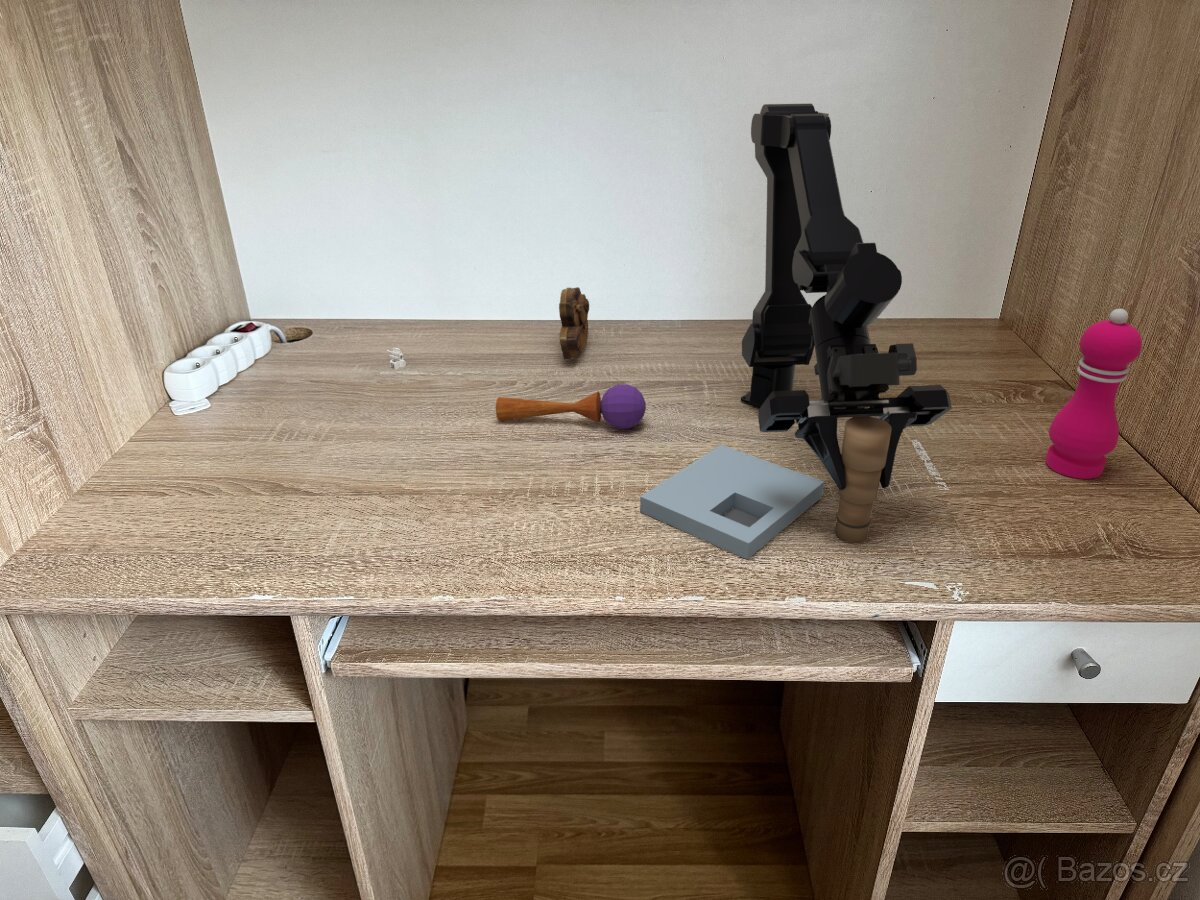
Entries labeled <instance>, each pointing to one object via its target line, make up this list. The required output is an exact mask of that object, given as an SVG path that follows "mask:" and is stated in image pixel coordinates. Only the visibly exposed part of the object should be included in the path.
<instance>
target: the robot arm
mask: <svg viewBox="0 0 1200 900" xmlns="http://www.w3.org/2000/svg"><path fill="white" fill-rule="evenodd" d="M750 124H751V125H750V126H751V127H750V137H751V142H752V143H753V144H754V157H755V160H756V162H757V163H758V165H759V167H760V169H761V170H762V172H763V174H764V176H765V177H766V181H767V182H766V183H767V184H766V225H765V226H766V229H765V235H766V236H765V275H764V277H765V285H764V287H765V289H764V292H763V294H762V295H761V297H760V299H759V300H758V302H757V304H756V305H755V307H754V308H753V310H752V320H751V323H750V324H749V326H748V328H747V330H746V332H745V333H744V335H743V337H742V339H741V356H742V357H743V360H744V362H745V363H746V365H747V367H748V368H752V373H751V379H750V380H751V383H750V391H749V392H748V393H746V394H744V395H742V396H741V397H740V402H742V403H745V404H748V405H752V406H755V407H758V415H757V417H758V426H759V427H758V428H759V432H762V433H781V432H783V433H784V432H788V431H789V430H790V429H791V428H792V427H793V425H794V424H795V423H796V424H797V426H798V428H797V430H796V431H795V432H794V437H795V439H803V440H804V441H805V442H806V444H807V445H808V446H809V448H810V449H811V450H812V452H813V453H815V455H816V456H817V457H818V459H819V460H820V462H821V463H822V465H823V466H824V468H825V470H826V471H827V474H829V476H830V478H831V479H832V481H833V482H834V484H835V485H836V487H837V489H839V490H844V489H845V488H846V481H845V471H844V467H843V462H842V457H841V448H840V445H839V439H838V419H840V418H842V419H843V418H853V417H858V416H868V417H874V418H878V419H881V420H884V421H886V422H887V423H888V424H890V426H891V428H892V430H891V436H890V441H889V447H888V452H887V458H886V464H885V467H884V468H883V469H882V471H881V477H880V483H879V485H880V487H881V489H887V488H889V487H890V482H891V478H892V473H893V468H894V465H895V464H894V462H895V458H896V452H897V448H898V445H899V441H900V439H901V437H902V433H903V431H904V430H905V429H906V428H907V427H924V426H928V425H932V424H933V423H935V422H936V421H937V420H938V419H940V418H941V417H942V416H943V415H945V414H946V413H948V412H949V411H950V410H951V409H952V408H953V407H952V403H951V401H952V400H951V397H950V393H949V392H948V390H946V389H945V387H943V386H942V385H941V384H929V385H927V384H925V385H923V384H922V385H908V386H907V387H906V388H905V389H904V390H903V391H902V392H901V393H899V394H898V395H897V396H894V397H892V396H891V397H880V394H884V393H886V392H887V391H889V389H890V387H889V386H900V381H901V380H900V377H905V376H914V375H916V373H917V371H918V369H917V368H918V362H917V354H916V351H915V346H914V343H911V342H910V343H896V344H890V345H889V346H888V347H889V348H888V351H887V352H881V353H879V349H878V346H877V344H876V343H871V337H870V332H869V326H870V325H871V324H872V323H874V322H875V321H876V320H877V319H878V318H879V316H880V315H881V314H882V313H883V312H884V310H885V309H886V308H887V307H888V306H889V304H890V303H891V302H892V301H893V300H894V298H896V296H897V294H898V293H899V292H900V290H901V287H902V283H903V278H902V277H903V276H902V271H901V269H899V268H898V265H896V263H895V262H894V261H893V260H892V259H890V258H889V257H888V256H887V255H885V254H883V253H880V252H878V249H877V245H876V242H864V239H863V238H862V234H861V231H860V228H859V227H858V226H857V225H856V224H854V222H853V221H851V220H850V219H849V217H847V216H846V215H845V212H844V208H843V204H842V203H843V202H842V198H841V193H840V188H839V183H838V177H837V173H836V167H835V162H834V158H833V152H832V148H831V141H830V140H831V134H832V122H831V118H830V116H829V113H825V112H819V111H818V110H816V109H815V106H814V104H813V103H770V104H769V103H768V104H765V103H764V104H763V105H762V107H761V109H760V112H759V113H754V114H753V115H752V119H751V123H750ZM801 291H803V292H805V293H806V294H816V293H817V294H820V293H821V294H823V293H826V294H824V295H822V296H820V297H819V298H818V299H817V300H816V301H815V302H814V303H813V305H812V304H811V303H808V301H807V300H806V298H805V297H804V295H803V293H802V292H801ZM814 349H815V357H816V359H815V360H816V363H815V365H814V366H813V369H814V375H815V376H818V379H819V385H820V392H821V399H816V400H810V397H809V394H808V392H807V391H806V389H796V390H794V388H793V387H794V379H795V370H796V366H803V365H804V366H809V365H810V362H811V360H812V356H813V353H814ZM795 420H796V422H795Z"/></svg>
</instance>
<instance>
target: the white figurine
mask: <svg viewBox="0 0 1200 900" xmlns="http://www.w3.org/2000/svg"><path fill="white" fill-rule="evenodd" d="M386 351H387V352H388V353H390V355H389V356H388V357H390V358H391V359H390V361H389V368H392V367H393V368H394V370H395V371H396V370H397V369H398V370H399V368H400V367H401V368H404V367H406V364H407V362H406V360H404V354H403V353H402V351H401V349H400V348H398V347H392V350H389V349H386ZM393 365H394V366H393Z"/></svg>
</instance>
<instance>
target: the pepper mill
mask: <svg viewBox="0 0 1200 900" xmlns="http://www.w3.org/2000/svg"><path fill="white" fill-rule="evenodd" d="M1108 319H1109V320H1105V319H1104V320H1101V321H1097V322H1094V323H1093V324H1091V325H1090V326H1089V327H1087V328H1086V329H1085V330H1084V332H1083V333H1082V335H1081V337H1080V340H1079V350H1080V352H1081V354H1082V356H1083V357H1081V358H1080V359H1079V362H1078V364H1079V365H1078V366H1077V373H1078V374H1079V379H1078V383H1077V386H1076V388H1075V391H1074V393H1073V395H1072V396H1071V397H1070V399H1069V400H1068V401H1067V402H1066V404H1065V405H1064V406H1063V407H1061V408H1060V410H1059V411H1058V412H1057V413H1056V415H1055V416H1054V418H1053V420H1052V421H1051V424H1050V426H1049V429H1048V435H1049V439H1050V440H1051V441H1050V442H1051V443H1052V444H1051V445H1050V446H1049V447H1048V449H1047V452H1046V456H1045V464H1046V465H1047V466H1048V468H1050V469H1051V471H1054V472H1056V473H1058V474H1060V475H1062V476H1065V477H1069V478H1074V479H1080V480H1090V479H1096V478H1099V477H1100V476H1101V475H1102V474H1103V472H1104V470H1105V467H1106V463H1107V458H1106V456H1107V455H1109V454H1110V453H1111V452H1113V451H1114V450H1115V449H1116V447H1117V445H1118V440H1119V436H1120V429H1119V422H1118V418H1117V415H1116V406H1115V405H1116V396H1117V393H1118V390H1119V387H1120V385H1121V383H1122V382H1124V381H1125V380H1127V378H1128V373H1129V372H1130V366H1129V364H1130V363H1133V362H1134V361H1135V360H1136V359H1137V358H1138V357H1139V356H1140V353H1141V351H1142V347H1143V340H1142V336H1141V333H1140V332H1139V330H1138V329H1136V328H1135V327H1134V326H1133V325H1131V324H1129V323H1127V321H1128V319H1129V314H1128V311H1127V310H1125V309H1124V308H1115V309H1114V310H1112V311H1111V312H1110V314H1109V317H1108Z"/></svg>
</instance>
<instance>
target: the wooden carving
mask: <svg viewBox="0 0 1200 900" xmlns="http://www.w3.org/2000/svg"><path fill="white" fill-rule="evenodd" d="M558 309H559V310H558V311H559V319H560V322H561V328H560V331H559V344H560V348H561V352H562V357H563V360H571V359H578V358H579V356H580V355H579V352H581V351H582V352H583V351H584V350H585V349H586V346H587V342H588V337H589V335H588V334H589V320H588V317H589V311H590V301H589V299H588V298H587V296H586V295H585V294H584V293H582V292H581V288H580V287H566V288H565V289H562V290H561V292H560V299H559V303H558Z"/></svg>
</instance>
